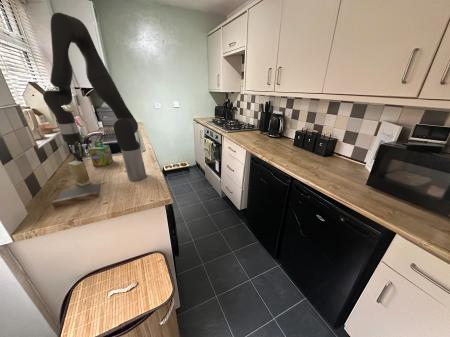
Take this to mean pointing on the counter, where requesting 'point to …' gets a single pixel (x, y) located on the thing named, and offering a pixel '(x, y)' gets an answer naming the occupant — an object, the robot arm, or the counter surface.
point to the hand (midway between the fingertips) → (81, 162)
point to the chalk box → (100, 154)
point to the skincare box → (79, 173)
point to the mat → (79, 191)
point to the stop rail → (74, 199)
